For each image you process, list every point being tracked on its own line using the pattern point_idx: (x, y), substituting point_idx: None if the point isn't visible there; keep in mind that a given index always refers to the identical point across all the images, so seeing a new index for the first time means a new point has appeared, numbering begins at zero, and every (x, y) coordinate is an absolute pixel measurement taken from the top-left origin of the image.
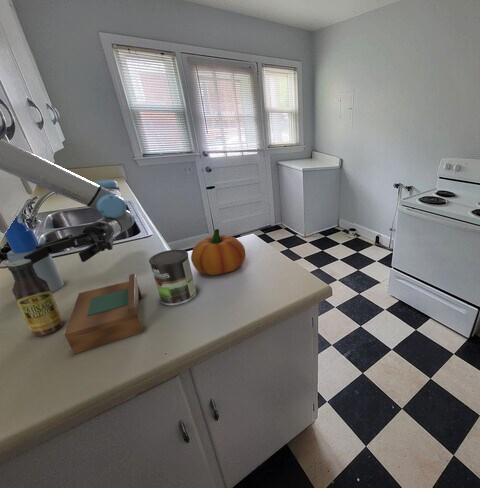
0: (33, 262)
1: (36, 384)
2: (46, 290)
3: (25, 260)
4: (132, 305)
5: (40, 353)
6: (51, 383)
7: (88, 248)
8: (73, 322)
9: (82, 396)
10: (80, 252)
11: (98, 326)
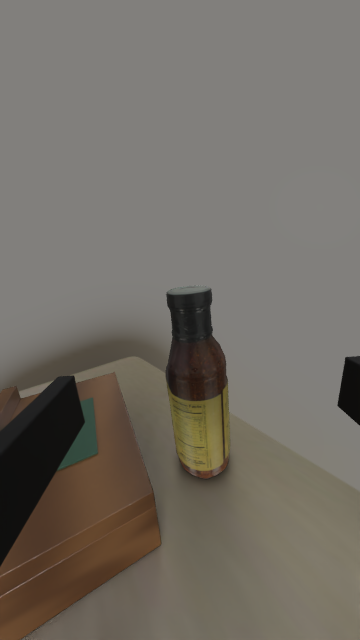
0: (356, 414)
1: (141, 377)
2: (166, 372)
3: (182, 291)
4: (4, 392)
5: (168, 406)
6: (127, 377)
7: (4, 430)
8: (111, 387)
9: (94, 370)
10: (63, 381)
11: None
